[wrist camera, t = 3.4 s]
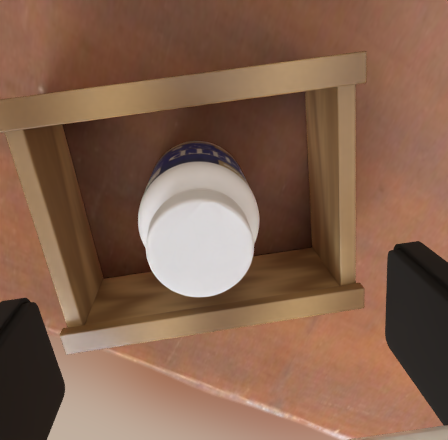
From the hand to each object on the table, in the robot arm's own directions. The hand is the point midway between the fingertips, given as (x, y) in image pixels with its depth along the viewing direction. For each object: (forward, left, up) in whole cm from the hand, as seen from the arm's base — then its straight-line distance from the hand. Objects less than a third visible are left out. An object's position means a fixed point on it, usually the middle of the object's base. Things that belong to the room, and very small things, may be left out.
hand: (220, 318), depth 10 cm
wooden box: (0, 0, -13) cm, 13 cm away
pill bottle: (0, 0, -13) cm, 13 cm away
